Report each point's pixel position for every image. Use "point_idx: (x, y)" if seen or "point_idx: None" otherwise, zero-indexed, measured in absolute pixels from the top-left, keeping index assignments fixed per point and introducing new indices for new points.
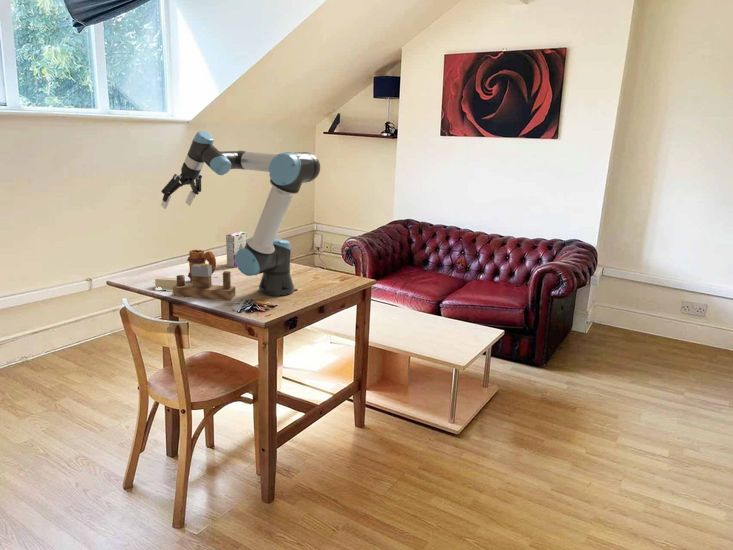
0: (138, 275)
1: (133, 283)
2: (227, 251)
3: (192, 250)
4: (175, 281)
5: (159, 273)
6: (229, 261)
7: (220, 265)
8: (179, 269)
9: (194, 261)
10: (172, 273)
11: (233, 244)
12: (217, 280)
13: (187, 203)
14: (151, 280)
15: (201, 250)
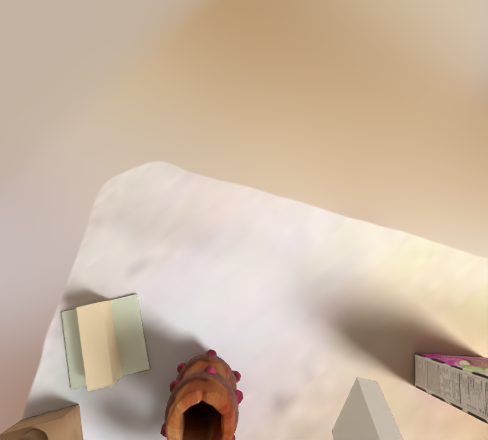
0: (188, 174)
1: (107, 216)
2: (453, 371)
3: (205, 397)
4: (87, 381)
5: (235, 213)
6: (426, 370)
7: (414, 322)
8: (303, 236)
9: (162, 428)
10: (254, 246)
11: (483, 419)
12: (250, 432)
13: (346, 412)
14: (157, 241)
15: (227, 435)
